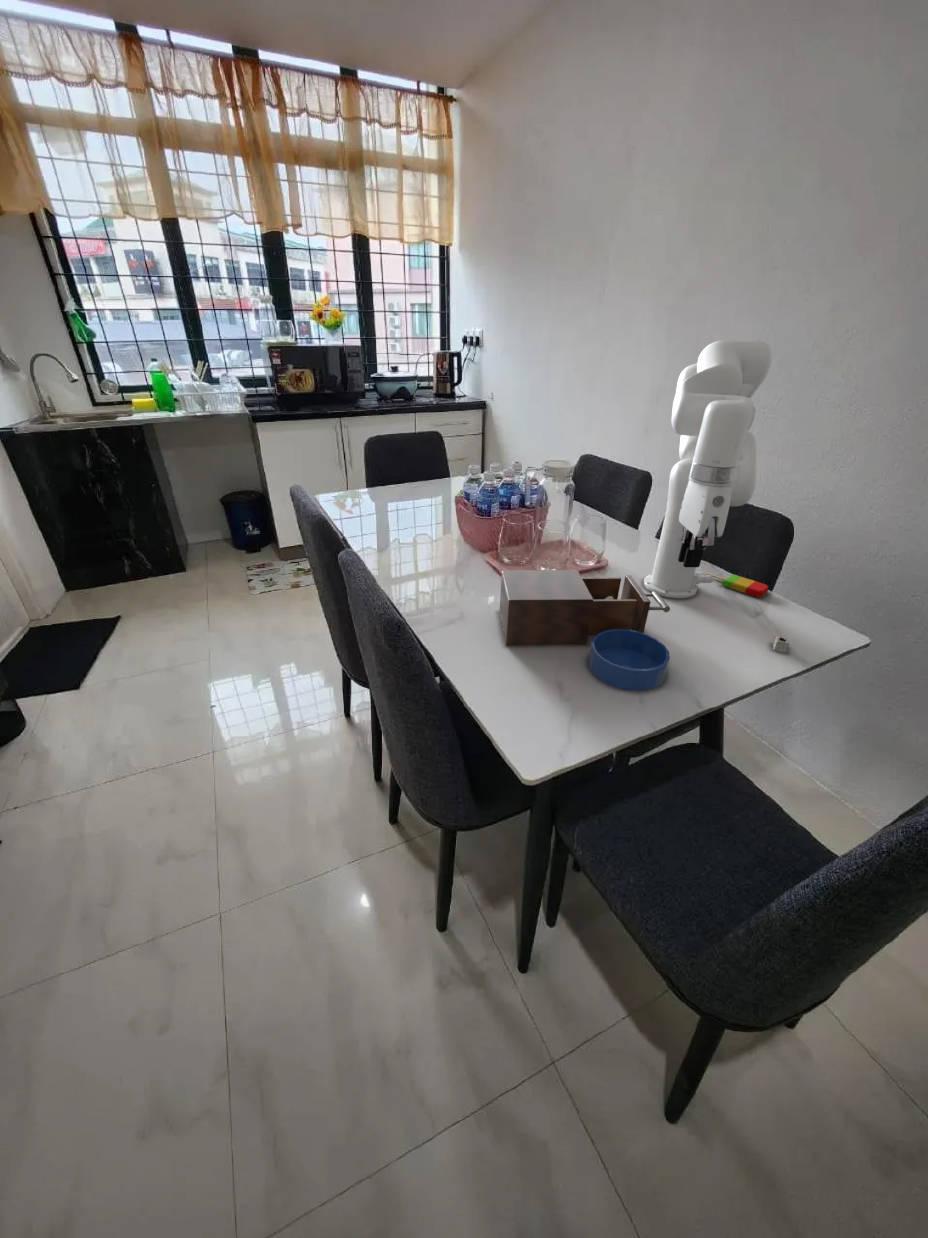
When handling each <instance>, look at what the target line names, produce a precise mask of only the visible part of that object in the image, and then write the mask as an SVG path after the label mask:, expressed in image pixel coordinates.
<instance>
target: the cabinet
mask: <svg viewBox="0 0 928 1238" xmlns="http://www.w3.org/2000/svg"><path fill="white" fill-rule="evenodd" d="M581 577H582V576H581V574H580V572H579V570H578V569H563V570H562V569H553V570H552V569H544V570H543V569H538V570H537V569H535V570H534V569H533V570H532V569H531V570H528V569H527V570H525V569H523V570H521V569H520V570H517V569H516V570H515V569H514V570H513V569H512V570H511V569H510V570H507V569H506V570H504V569H503V570H501V580H500V582H501V583H500V598H499V600H500V601H499V616H500V621H501V626H502V632H503V638H504V642H505V646H578V645H579V646H586V645H587V641H588V636H587V635H588V629H589V623H590V617H591V611H592V605H593V598H592V596H591V594H590V592H589V591H588V589H587V587H586V585H585V583H584V581H583V580H582V578H581Z"/></svg>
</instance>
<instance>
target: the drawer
mask: <svg viewBox="0 0 928 1238" xmlns="http://www.w3.org/2000/svg"><path fill="white" fill-rule="evenodd" d="M581 578H582V580H583V581H584V583H585V585H586V587H587V589H588V591H589V592H590V594H591V596H592V598H593V605H592V611H591V617H590V623H589V629H588V635H587V637H595V636H596V635H597V634H599V633H601V632H603V631H607V630H612V629H627V630H634V631H638V632H641V633H645V629H646V624H647V620H648V617H649V611H662V612H663V613H668V612H670V610H671V607H670V605H669V604H668V603H667V602H666V600H665V599H664V598H663V596H661V595H659V593H658V592H657V591H654V592H644V591H643V589H642V588H641V586H640V585H639V584H638V582H637V581H636V580H635V578H633V576H632V575H631V574H625V576H624V581H623V586H622V591H621V596H620V599H618V598H619V592H620V587H621V583H622V577H621V576H595V577H594V576H591V577H589V576H588V577H587V576H586V577H585V576H581ZM609 596H612V597H613V598H614V599H605V598H607V597H609ZM651 597H652V598H653V599H654V601H655V602H656V603H657V604H658V606H651V602H652V601H651V600H650V599H649V598H651Z"/></svg>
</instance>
